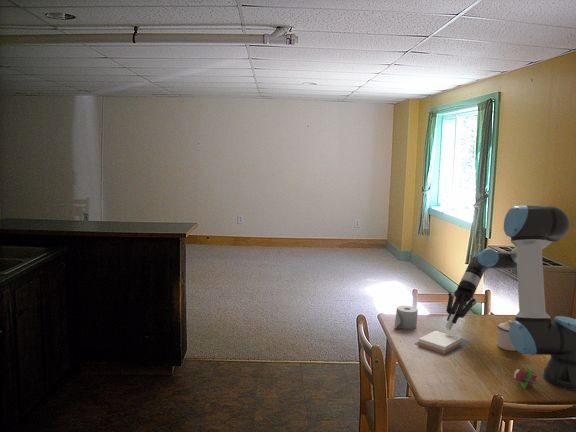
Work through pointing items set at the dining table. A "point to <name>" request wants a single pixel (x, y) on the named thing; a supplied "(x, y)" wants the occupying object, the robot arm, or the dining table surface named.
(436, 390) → the dining table surface
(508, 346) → the teacup with lid
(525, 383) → the geometric puzzle
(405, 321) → the toilet tissue
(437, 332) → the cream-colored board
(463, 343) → the mat
